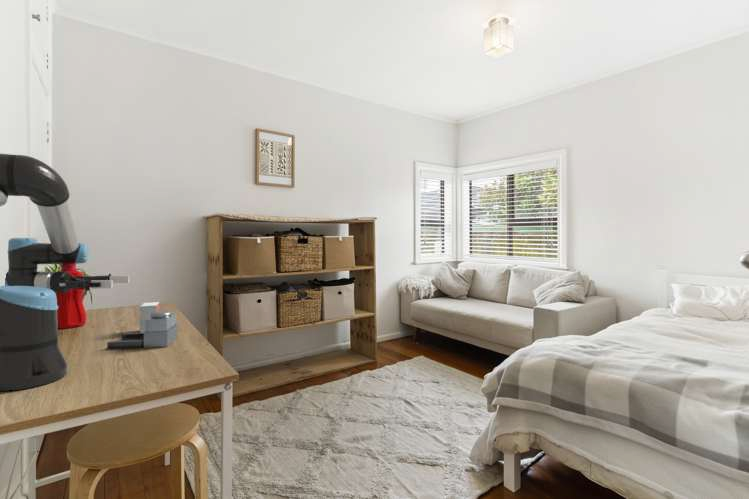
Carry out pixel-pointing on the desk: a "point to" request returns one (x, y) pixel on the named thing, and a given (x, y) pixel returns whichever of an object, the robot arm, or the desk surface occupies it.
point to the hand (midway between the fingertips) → (121, 281)
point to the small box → (147, 313)
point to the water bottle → (70, 303)
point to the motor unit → (150, 333)
